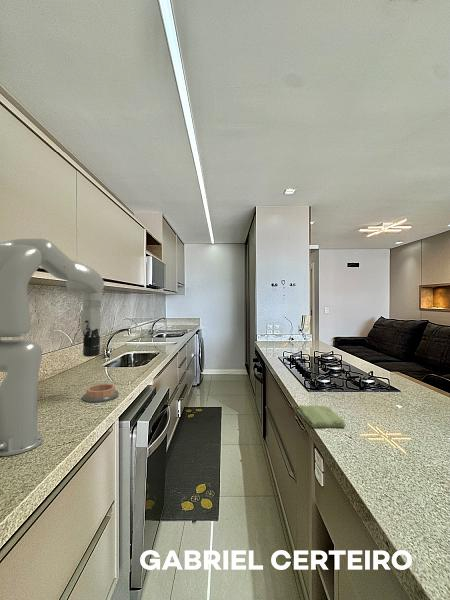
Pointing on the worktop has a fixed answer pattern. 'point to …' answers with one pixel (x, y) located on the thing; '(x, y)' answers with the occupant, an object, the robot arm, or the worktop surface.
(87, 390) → the bottle holder
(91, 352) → the supplement bottle
